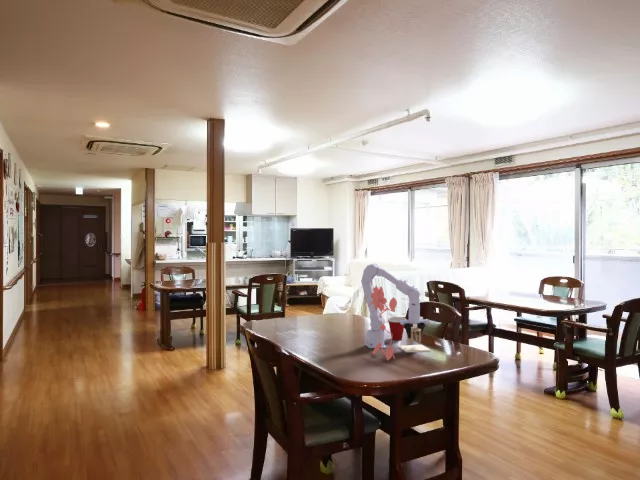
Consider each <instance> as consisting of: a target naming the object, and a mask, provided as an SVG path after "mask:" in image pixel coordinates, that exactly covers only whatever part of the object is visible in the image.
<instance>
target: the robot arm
mask: <svg viewBox="0 0 640 480" xmlns="http://www.w3.org/2000/svg"><path fill="white" fill-rule="evenodd" d="M375 277H383V278H384V279H386V280H387V281H389V282H390V283H392V284H394V285H395V288H396V290H398V291H400V292H401V293H402V294H403V295H405V296H407V297H408V319H406V320H400V324H402V325H404V330H405V331H406V335H407V339H408V338H410V339H411V327H412V326H411V325H416V327H418V328H420V329H421V335H422V333H423V331H424V328H425V327H426V325H427V324H429V319H423V318H422V319H421V317H420V316H421V313H420V312H421V304H420V296H421V291H420V290H419V289H418V288H417V287H415V286H414V285H411V284H409V282H408V281H407V280H406V279H399V278H397V277H396V276H395V275H393V274H392V273H391V272H389V271H388V270H386V269H385V268H384V267H382V266H380V265H378V264H376V263H371V264H369V265H367V266H365V268H364V269H363V273H362V276H361V280H360V281H361V286H362V289H363V293H364V296H365V300H366V304H367V306H368V305H369V304H370V303H371V302H372V301H373V299H372V298H371V294H372V293H374V291H373V288H374V287H373V286H372V285H373V284H372V282H373V279H374V278H375ZM368 311H369V318H370V322H369V324H370V329H368V330H366V332H365V345H366V347H368V349H375V347H376V346H377V345H378V344H379V329H380V326H381V325H385V322H386V321H385V319H384V317H383V315H381V319H382V324H381V319H380V313H381V311H380V310H379V308H378V309H377V310H375V308H374V304H373V303H372V304H371V305H369V306H368ZM418 335H419V331H418ZM380 343H382V345H381V346H382V349H384V348H385V349H387V348H388V347H387V345H385V330H381V329H380ZM380 348H381V347H380Z"/></svg>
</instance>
